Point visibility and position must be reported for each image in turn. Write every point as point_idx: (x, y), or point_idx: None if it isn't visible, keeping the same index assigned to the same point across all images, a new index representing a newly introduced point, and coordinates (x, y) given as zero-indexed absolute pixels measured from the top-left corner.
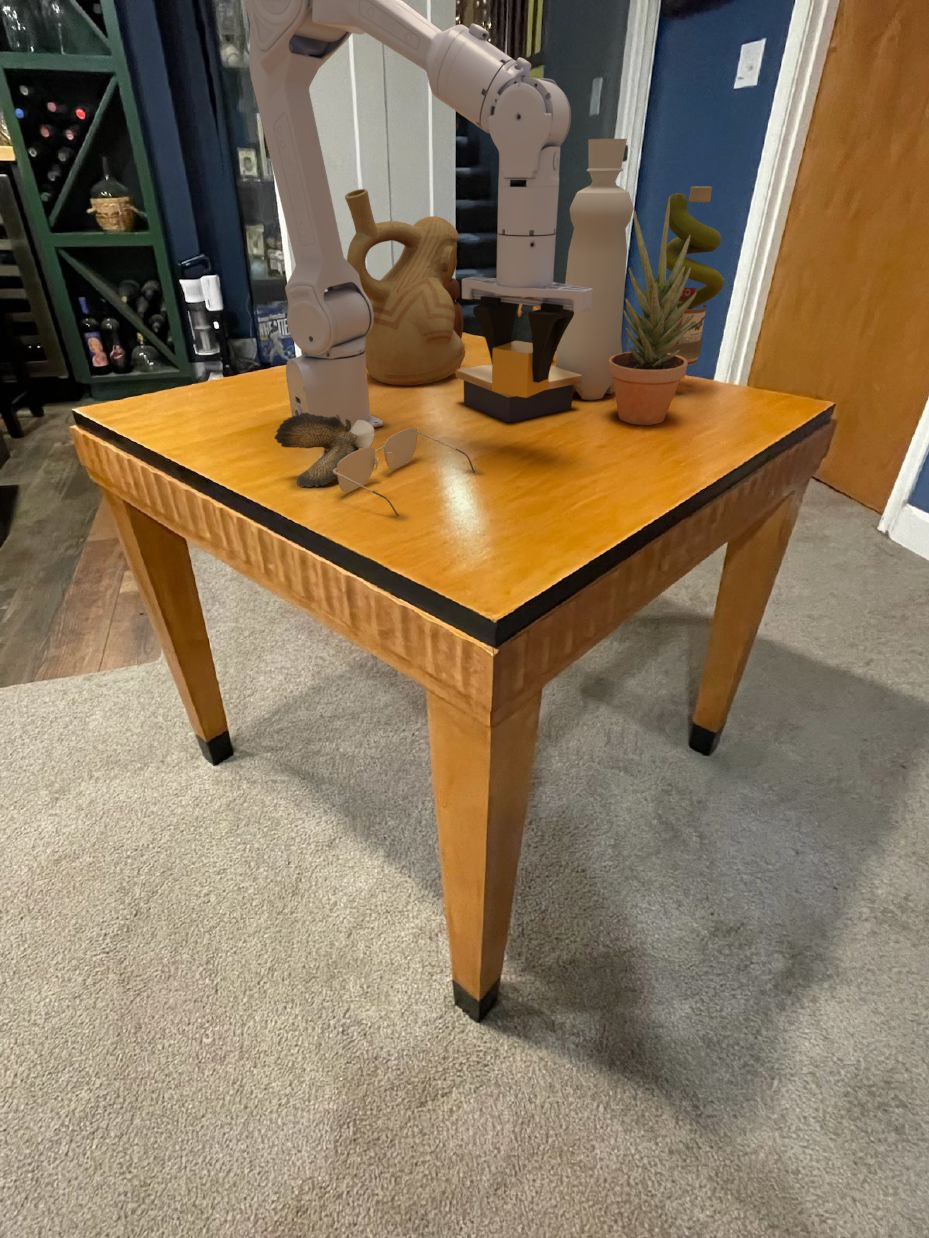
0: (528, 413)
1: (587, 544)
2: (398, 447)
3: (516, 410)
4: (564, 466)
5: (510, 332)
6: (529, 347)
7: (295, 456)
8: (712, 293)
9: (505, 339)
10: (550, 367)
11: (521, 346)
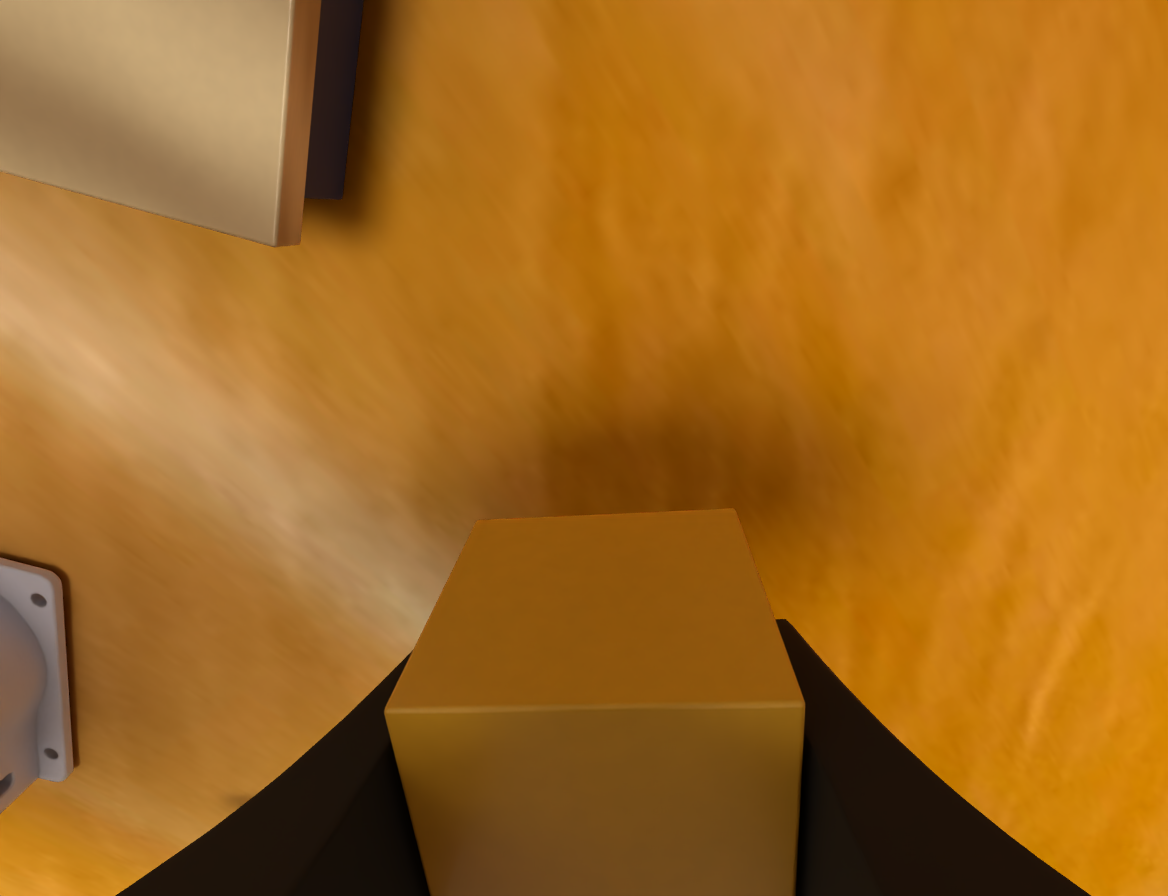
0: (345, 57)
1: (1145, 860)
2: None
3: (321, 147)
4: (855, 491)
5: (348, 853)
6: (670, 842)
7: (163, 857)
8: None
9: (386, 863)
10: (820, 659)
11: (589, 848)
